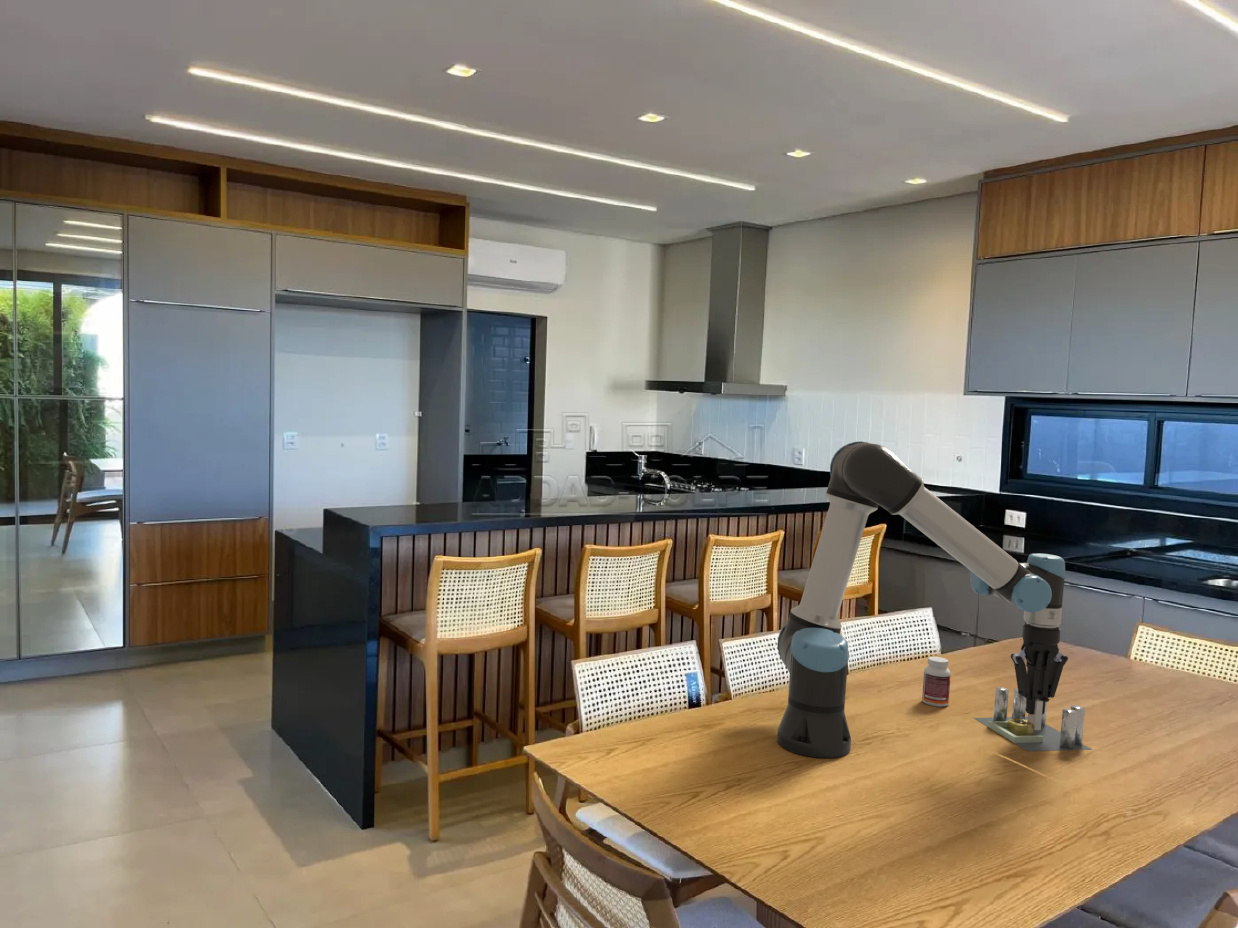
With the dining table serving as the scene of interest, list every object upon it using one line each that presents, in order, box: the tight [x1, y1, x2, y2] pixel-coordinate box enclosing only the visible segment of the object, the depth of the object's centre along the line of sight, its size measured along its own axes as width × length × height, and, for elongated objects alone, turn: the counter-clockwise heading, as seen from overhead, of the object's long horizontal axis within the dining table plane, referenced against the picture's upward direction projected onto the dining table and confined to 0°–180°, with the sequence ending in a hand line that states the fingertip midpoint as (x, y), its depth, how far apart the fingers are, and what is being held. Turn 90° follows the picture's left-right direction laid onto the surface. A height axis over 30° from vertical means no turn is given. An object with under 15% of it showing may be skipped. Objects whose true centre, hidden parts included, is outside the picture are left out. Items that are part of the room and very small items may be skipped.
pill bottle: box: [921, 656, 952, 708], centre depth 218 cm, size 6×6×11 cm
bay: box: [986, 721, 1043, 744], centre depth 197 cm, size 7×10×1 cm
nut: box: [1007, 718, 1034, 736], centre depth 198 cm, size 5×5×3 cm
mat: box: [973, 716, 1093, 752], centre depth 199 cm, size 16×20×1 cm
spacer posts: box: [992, 686, 1086, 751], centre depth 198 cm, size 12×18×8 cm
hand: (1033, 727), depth 198 cm, fingers closed
